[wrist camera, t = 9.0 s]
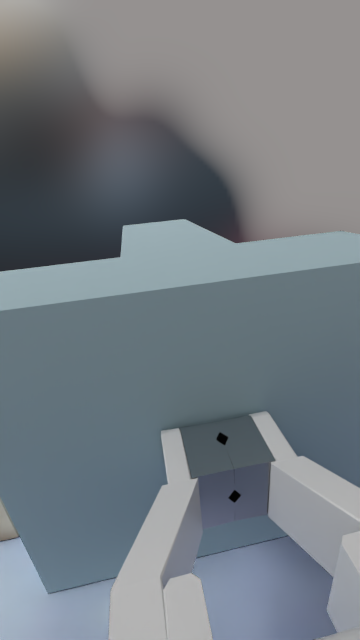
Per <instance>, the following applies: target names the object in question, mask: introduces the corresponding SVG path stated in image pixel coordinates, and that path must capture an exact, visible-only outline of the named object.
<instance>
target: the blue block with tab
mask: <svg viewBox="0 0 360 640" xmlns="http://www.w3.org/2000/svg"><path fill="white" fill-rule="evenodd" d="M263 411H267V412H268V413H269V414H270V415H271V417H272V418H273V420H274V422H275V423H276V425H277V426H278V428H279V429H280V431H281V432H282V434H283V435H284V437H285V438H286V440H287V441H288V443H289V444H290V446H291V447H292V449H293V450H294V452H295V453H296V455H297V456H298V457H299V456H305V457H306V458H308V459H310V460H312V461H313V462H315V463H317V464H319V465H320V466H322V467H324V468H325V469H327V470H329V471H331V472H332V473H334V474H336V475H338V476H339V477H341V478H343V479H345V480H346V481H348V482H350V483H352V484H353V485H355V486H357V487H359V488H360V235H359V234H354V233H349V232H344V231H337V232H328V233H321V234H312V235H303V236H296V237H287V238H279V239H271V240H263V241H253V242H245V243H237V244H235V243H233V242H231V241H229V240H227V239H225V238H223V237H220V236H219V235H216V234H214V233H212V232H210V231H208V230H206V229H204V228H202V227H200V226H198V225H195V224H194V223H192V222H189V221H187V220H185V219H182V220H173V221H164V222H154V223H146V224H137V225H127V226H123V233H122V246H121V257H120V258H111V259H104V260H95V261H86V262H78V263H70V264H62V265H53V266H45V267H37V268H29V269H20V270H12V271H3V272H0V497H1V499H2V501H3V503H4V505H5V507H6V509H7V511H8V513H9V515H10V517H11V520H12V522H13V524H14V526H15V528H16V530H17V532H18V534H19V536H20V538H21V540H22V542H23V544H24V546H25V548H26V550H27V552H28V554H29V556H30V558H31V560H32V562H33V564H34V566H35V568H36V570H37V572H38V574H39V576H40V578H41V580H42V582H43V584H44V586H45V588H46V590H47V592H48V593H53V592H57V591H61V590H65V589H69V588H73V587H77V586H82V585H86V584H90V583H94V582H98V581H102V580H106V579H110V578H115V577H117V576H118V574H119V572H120V570H121V568H122V566H123V564H124V562H125V560H126V558H127V556H128V554H129V552H130V550H131V548H132V546H133V544H134V542H135V540H136V538H137V536H138V534H139V531H140V529H141V527H142V525H143V523H144V521H145V519H146V517H147V515H148V513H149V511H150V509H151V507H152V505H153V503H154V501H155V499H156V497H157V495H158V493H159V491H160V489H161V487H162V485H167V484H168V481H167V474H166V467H165V460H164V454H163V447H162V440H161V431H163V430H169V429H176V428H179V427H185V426H191V425H197V424H203V423H209V422H214V421H219V420H224V419H229V418H234V417H239V416H244V415H249V414H253V413H258V412H263ZM284 536H288V534H286V533H285V532H284V531H283V530H282V529H281V528H280V527H279V526H278V525H277V524H276V523H275V522H274V521H273V520H271V519H270V518H269V517H268V514H267V515H262V516H257V517H252V518H247V519H242V520H237V521H233V522H229V523H225V524H222V525H218V526H214V527H210V528H207V529H203V534H202V537H201V541H200V545H199V549H198V553H197V556H196V558H197V557H201V556H206V555H210V554H214V553H218V552H222V551H226V550H230V549H235V548H239V547H243V546H247V545H251V544H255V543H259V542H263V541H268V540H272V539H276V538H280V537H284Z"/></svg>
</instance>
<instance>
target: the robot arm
mask: <svg viewBox="0 0 360 640" xmlns="http://www.w3.org/2000/svg"><path fill="white" fill-rule="evenodd" d="M161 440H162V447H163V454H164V460H165V467H166V474H167V481H168V484H167V485H162V487H161V489H160V491H159V493H158V495H157V497H156V499H155V501H154V503H153V505H152V507H151V509H150V511H149V513H148V515H147V517H146V519H145V521H144V523H143V525H142V527H141V529H140V531H139V534H138V536H137V538H136V540H135V542H134V544H133V546H132V548H131V550H130V552H129V554H128V556H127V558H126V560H125V562H124V564H123V566H122V568H121V570H120V572H119V574H118V576H117V578H116V580H115V582H114V584H113V586H112V588H111V591H110V614H109V638H108V640H213V637H212V633H211V628H210V623H209V618H208V613H207V608H206V603H205V598H204V593H203V588H202V583H201V579H200V578H198V577H197V576H195V575H194V574H192V571H193V568H194V564H195V560H196V556H197V553H198V549H199V545H200V541H201V537H202V534H203V529H207V528H210V527H214V526H218V525H222V524H225V523H229V522H233V521H237V520H242V519H247V518H252V517H257V516H262V515H267V514H268V517H269V518H270V519H271V520H273V521H274V522H275V523H276V524H277V525H278V526H279V527H280V528H281V529H282V530H283V531H284V532H285V533H286V534H288V535H289V536H290V537H291V538H292V539H293V540H294V541H295V542H296V543H297V544H298V545H299V546H300V547H301V548H302V549H304V550H305V551H306V552H307V553H308V554H309V555H310V556H311V557H312V558H313V559H314V560H315V561H316V562H317V563H319V564H320V565H321V566H322V567H323V568H324V569H325V570H326V571H327V572H328V573H329V574H330V575H331V576H332V577H334V578H333V582H332V587H331V592H330V596H329V601H328V605H327V612H328V615H329V617H330V619H331V621H332V623H333V625H334V627H335V629H336V631H337V633H335V634H331V635H328V636H324V637H321V638H318V639H314V640H360V488H359V487H357V486H355V485H353V484H352V483H350V482H348V481H346V480H345V479H343V478H341V477H339V476H338V475H336V474H334V473H332V472H331V471H329V470H327V469H325V468H324V467H322V466H320V465H319V464H317V463H315V462H313V461H312V460H310V459H308V458H306V457H305V456H299V457H298V456H297V455H296V453H295V452H294V450H293V449H292V447H291V446H290V444H289V443H288V441H287V440H286V438H285V437H284V435H283V434H282V432H281V431H280V429H279V428H278V426H277V425H276V423H275V422H274V420H273V418H272V417H271V415H270V414H269V413H268V412H267V411H263V412H258V413H253V414H249V415H244V416H239V417H234V418H229V419H224V420H219V421H214V422H209V423H203V424H197V425H191V426H185V427H179V428H176V429H169V430H163V431H161Z"/></svg>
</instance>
